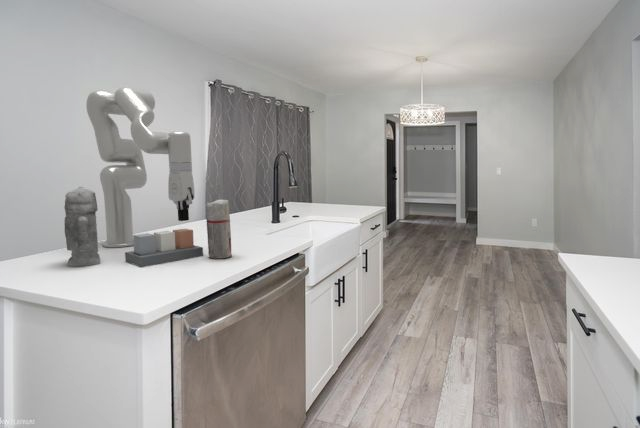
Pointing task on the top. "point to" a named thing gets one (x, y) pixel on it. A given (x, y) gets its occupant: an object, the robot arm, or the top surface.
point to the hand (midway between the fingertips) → (183, 220)
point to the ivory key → (165, 241)
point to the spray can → (218, 229)
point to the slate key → (144, 244)
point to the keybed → (163, 256)
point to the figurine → (81, 227)
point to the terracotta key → (183, 238)
